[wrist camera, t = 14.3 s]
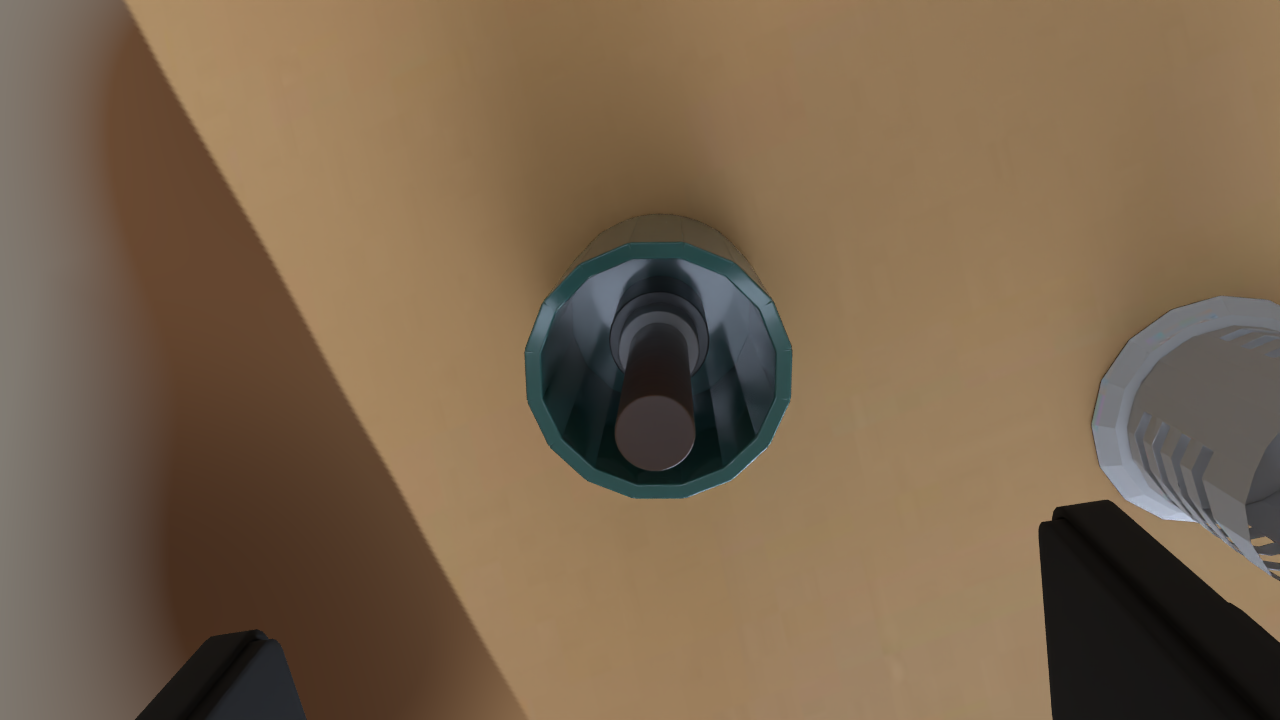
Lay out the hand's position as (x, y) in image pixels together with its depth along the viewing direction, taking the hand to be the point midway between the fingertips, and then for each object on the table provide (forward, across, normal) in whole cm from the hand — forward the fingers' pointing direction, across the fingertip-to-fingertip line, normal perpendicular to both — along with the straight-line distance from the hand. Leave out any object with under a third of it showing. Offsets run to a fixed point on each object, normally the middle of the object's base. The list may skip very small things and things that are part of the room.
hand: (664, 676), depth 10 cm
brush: (+24, +1, +1) cm, 25 cm away
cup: (+25, +1, +1) cm, 25 cm away
